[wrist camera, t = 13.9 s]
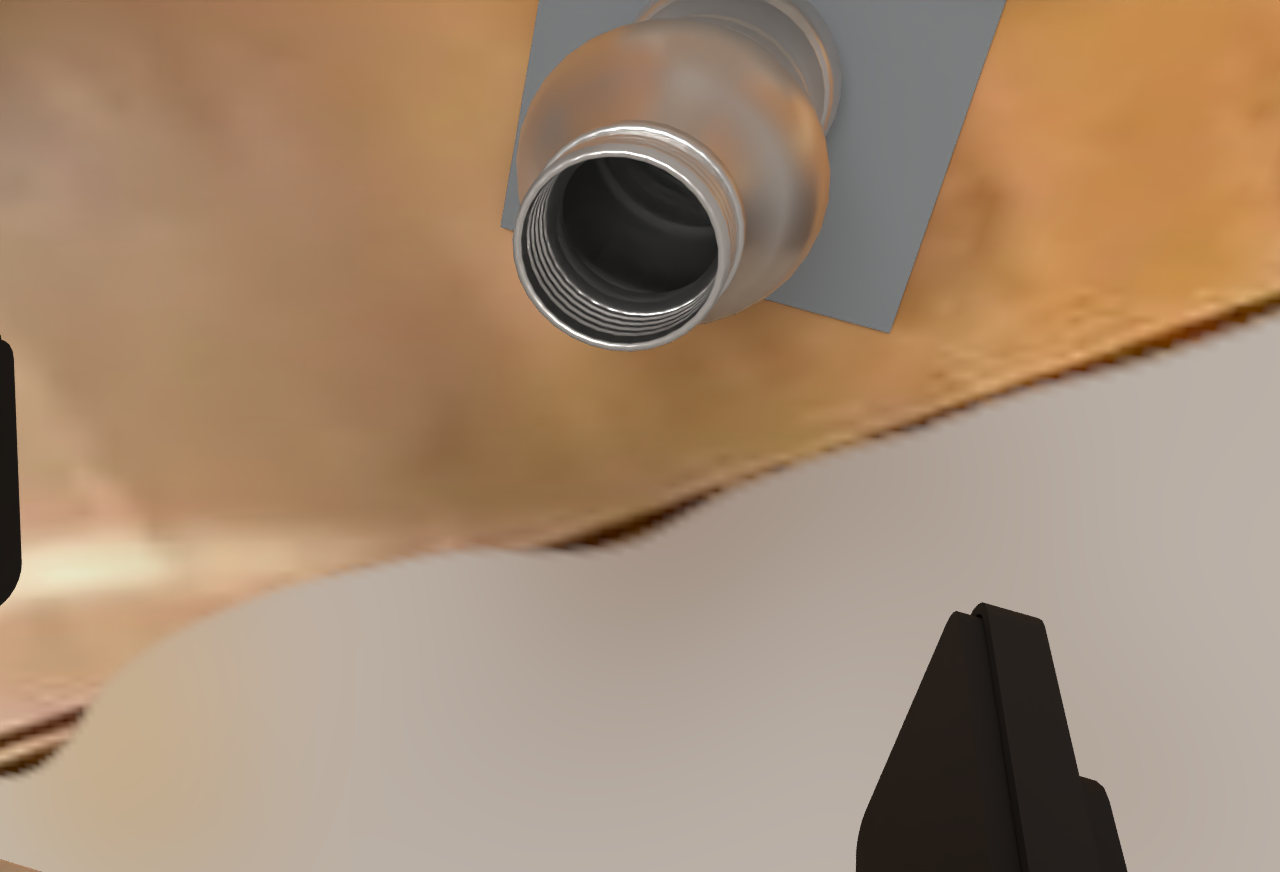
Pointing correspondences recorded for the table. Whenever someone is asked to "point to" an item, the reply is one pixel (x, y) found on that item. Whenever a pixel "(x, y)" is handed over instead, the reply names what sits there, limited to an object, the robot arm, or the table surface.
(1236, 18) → the table surface
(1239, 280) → the table surface
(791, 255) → the plastic bottle
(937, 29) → the mat
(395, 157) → the table surface
